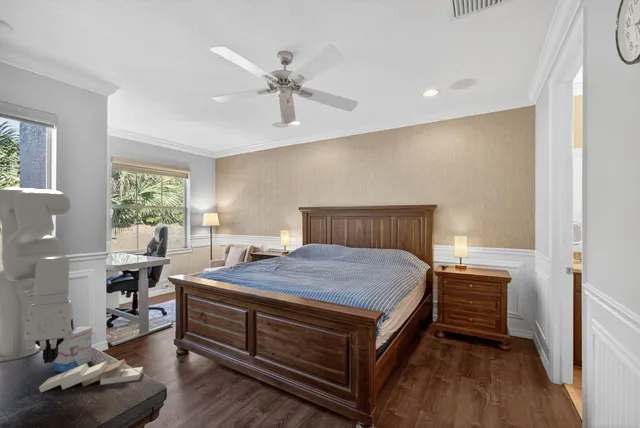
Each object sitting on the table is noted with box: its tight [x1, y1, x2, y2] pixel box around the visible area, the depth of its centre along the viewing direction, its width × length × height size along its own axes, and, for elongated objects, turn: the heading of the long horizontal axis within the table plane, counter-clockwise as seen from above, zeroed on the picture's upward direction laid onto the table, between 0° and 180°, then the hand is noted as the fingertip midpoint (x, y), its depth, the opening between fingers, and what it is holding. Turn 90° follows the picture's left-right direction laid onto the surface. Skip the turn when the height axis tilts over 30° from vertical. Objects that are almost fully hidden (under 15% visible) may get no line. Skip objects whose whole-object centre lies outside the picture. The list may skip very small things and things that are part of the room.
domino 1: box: [38, 362, 90, 393], centre depth 87 cm, size 2×5×10 cm
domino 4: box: [99, 366, 144, 386], centre depth 92 cm, size 2×5×10 cm
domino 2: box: [60, 360, 109, 390], centre depth 89 cm, size 2×5×10 cm
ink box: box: [53, 325, 93, 373], centre depth 99 cm, size 9×5×12 cm, turn 168°
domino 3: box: [81, 358, 127, 388], centre depth 91 cm, size 2×5×10 cm
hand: (50, 361), depth 86 cm, fingers closed
